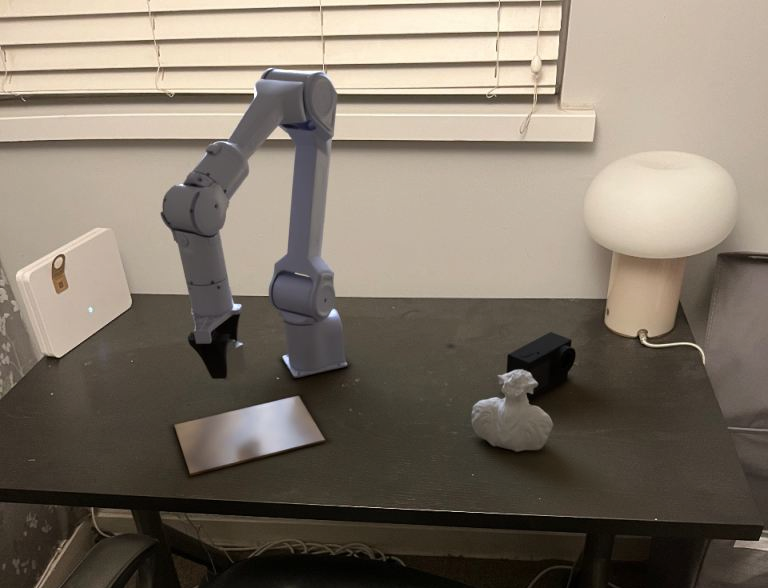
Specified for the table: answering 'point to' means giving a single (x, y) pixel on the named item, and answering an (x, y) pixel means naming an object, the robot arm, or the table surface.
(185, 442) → the wooden board
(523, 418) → the bust
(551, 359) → the digital camera
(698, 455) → the table surface
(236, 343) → the lighter
